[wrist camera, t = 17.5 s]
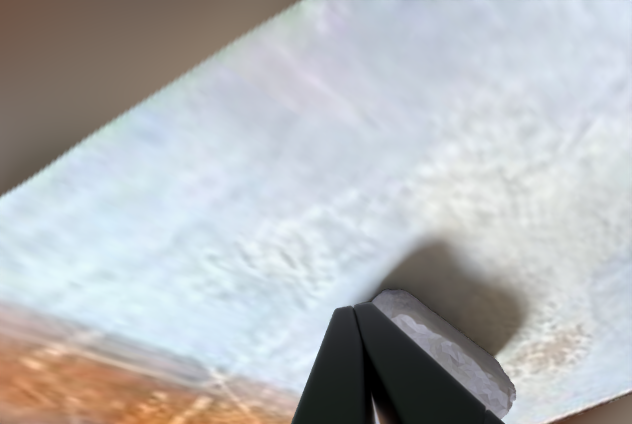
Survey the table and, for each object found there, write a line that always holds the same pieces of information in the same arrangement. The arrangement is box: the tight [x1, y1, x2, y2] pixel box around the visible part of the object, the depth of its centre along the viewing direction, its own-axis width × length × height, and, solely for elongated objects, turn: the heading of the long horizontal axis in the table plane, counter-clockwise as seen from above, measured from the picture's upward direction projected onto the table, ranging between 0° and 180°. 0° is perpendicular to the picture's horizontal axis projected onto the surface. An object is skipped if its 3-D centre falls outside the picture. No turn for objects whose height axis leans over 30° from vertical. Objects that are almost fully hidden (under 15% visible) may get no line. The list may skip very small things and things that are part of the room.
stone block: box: [371, 289, 516, 424], centre depth 24 cm, size 12×5×10 cm
